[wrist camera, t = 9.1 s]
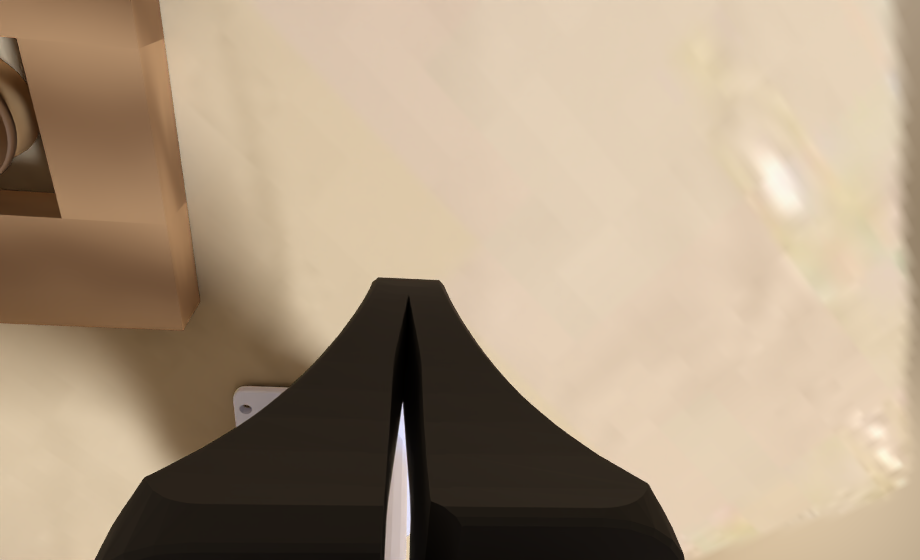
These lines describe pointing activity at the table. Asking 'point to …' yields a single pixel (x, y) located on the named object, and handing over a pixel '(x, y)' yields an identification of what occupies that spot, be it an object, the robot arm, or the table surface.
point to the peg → (15, 116)
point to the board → (98, 173)
